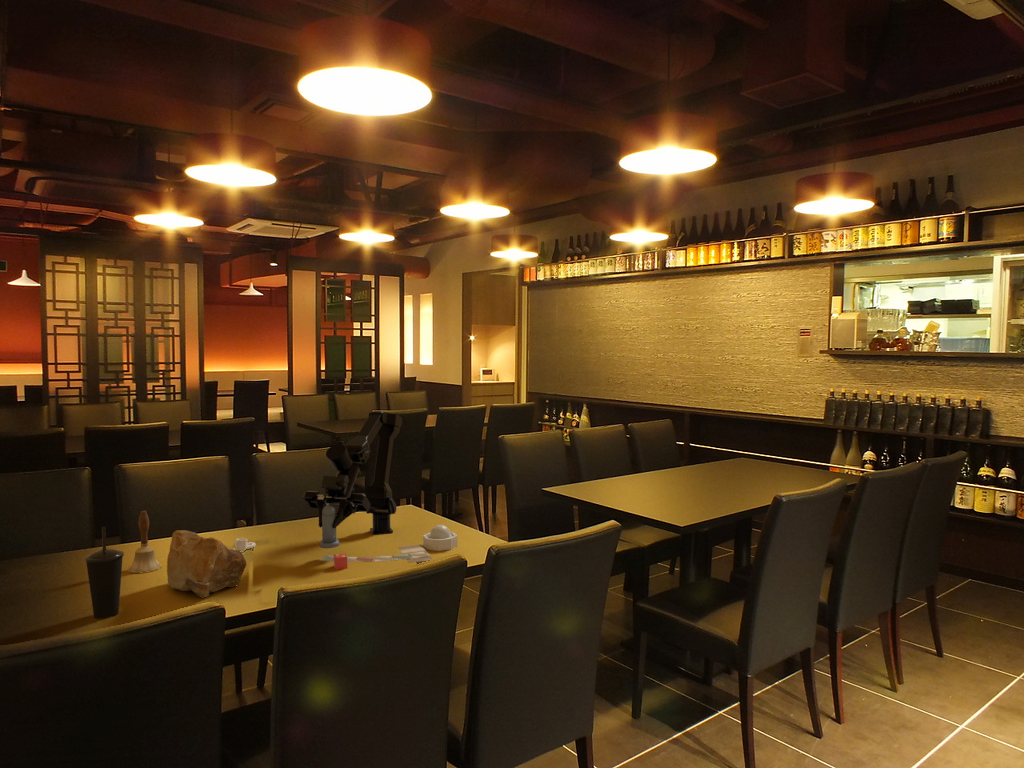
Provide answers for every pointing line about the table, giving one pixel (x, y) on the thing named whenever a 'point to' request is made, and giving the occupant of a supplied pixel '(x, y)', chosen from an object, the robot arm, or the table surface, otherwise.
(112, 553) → the drinking cup
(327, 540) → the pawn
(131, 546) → the table surface
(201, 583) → the rough brown rock
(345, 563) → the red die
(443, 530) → the dome button
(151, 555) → the hand bell
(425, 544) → the dome housing
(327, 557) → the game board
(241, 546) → the teacup and saucer
